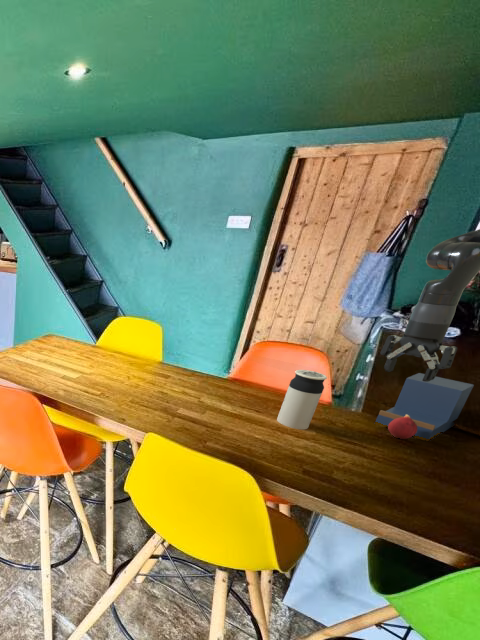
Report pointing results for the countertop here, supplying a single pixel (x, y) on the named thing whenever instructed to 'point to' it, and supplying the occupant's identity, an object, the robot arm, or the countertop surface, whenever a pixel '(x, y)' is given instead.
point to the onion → (403, 427)
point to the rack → (428, 404)
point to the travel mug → (301, 399)
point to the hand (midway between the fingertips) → (406, 376)
